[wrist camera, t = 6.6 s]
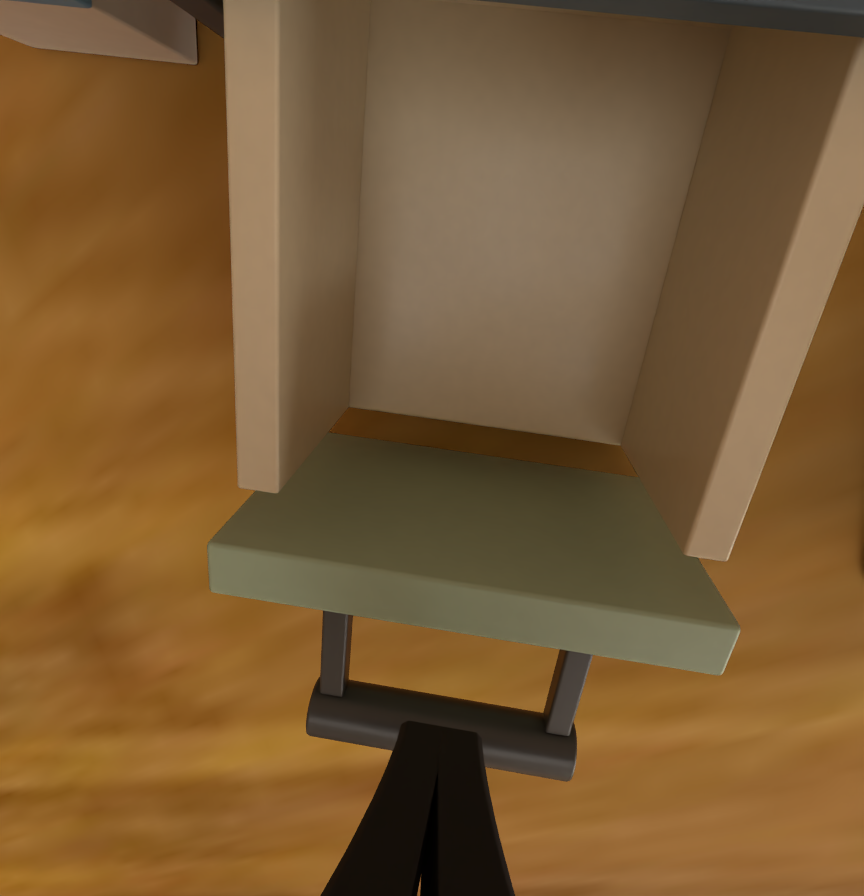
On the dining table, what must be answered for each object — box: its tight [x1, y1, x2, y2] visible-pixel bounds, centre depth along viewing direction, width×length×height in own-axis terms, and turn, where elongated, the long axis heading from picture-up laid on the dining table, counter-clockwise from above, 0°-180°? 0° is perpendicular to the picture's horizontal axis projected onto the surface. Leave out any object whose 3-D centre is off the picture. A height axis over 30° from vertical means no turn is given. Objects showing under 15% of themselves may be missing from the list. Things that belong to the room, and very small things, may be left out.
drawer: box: [207, 0, 864, 781], centre depth 12 cm, size 17×10×6 cm, turn 174°
